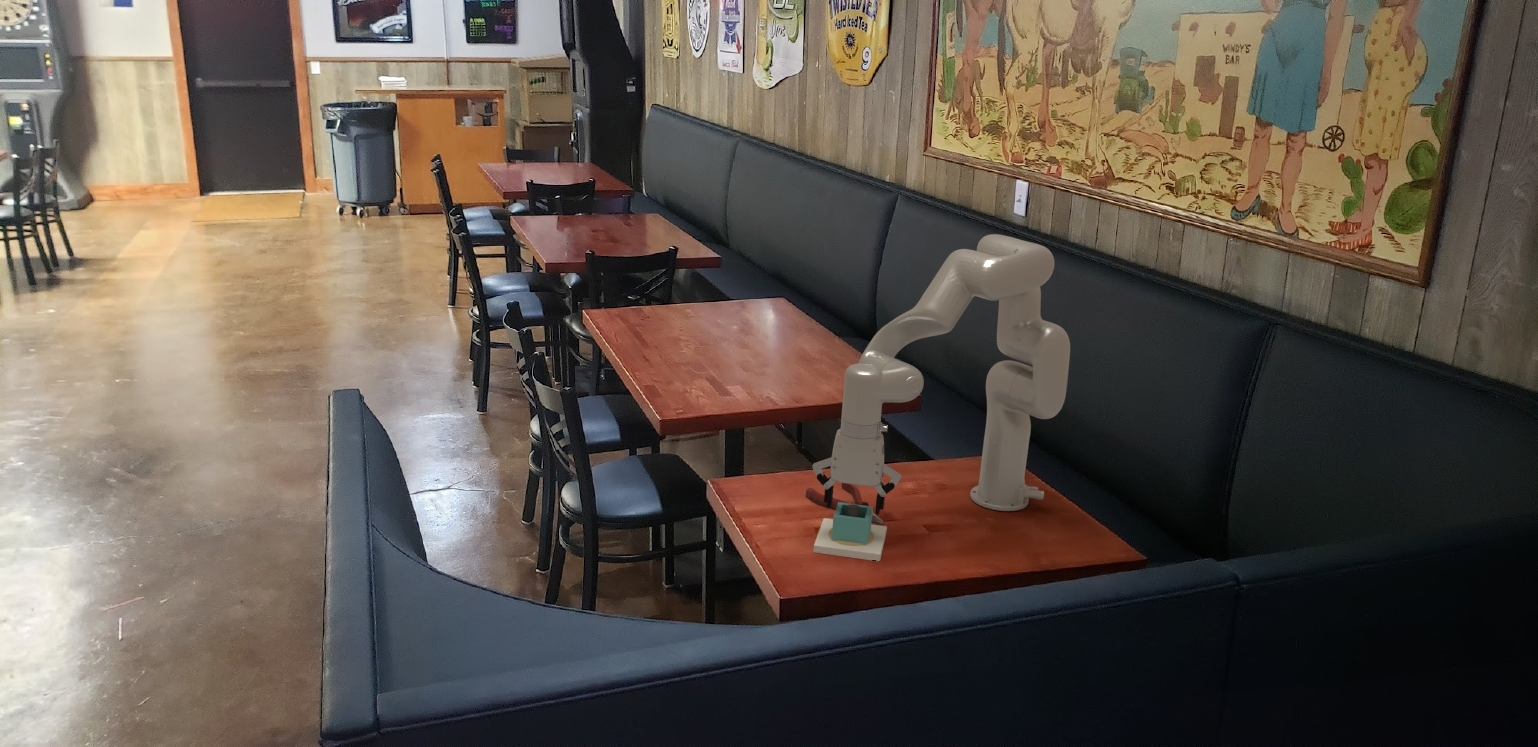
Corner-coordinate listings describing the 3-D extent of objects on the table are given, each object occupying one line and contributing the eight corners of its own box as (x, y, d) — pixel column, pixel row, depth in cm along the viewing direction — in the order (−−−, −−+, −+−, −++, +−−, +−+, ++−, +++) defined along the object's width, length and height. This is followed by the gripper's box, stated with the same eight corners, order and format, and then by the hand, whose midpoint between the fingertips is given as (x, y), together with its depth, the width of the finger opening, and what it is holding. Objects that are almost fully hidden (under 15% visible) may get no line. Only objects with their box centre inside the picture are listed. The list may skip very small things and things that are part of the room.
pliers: (855, 534, 231) (856, 523, 230) (802, 497, 247) (803, 486, 246) (900, 525, 236) (901, 513, 235) (846, 489, 253) (847, 478, 252)
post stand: (886, 533, 231) (889, 498, 229) (879, 561, 219) (883, 525, 216) (823, 524, 233) (825, 490, 231) (813, 552, 221) (815, 516, 219)
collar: (871, 529, 228) (873, 506, 227) (867, 544, 222) (869, 520, 220) (836, 524, 229) (838, 501, 228) (831, 539, 223) (833, 516, 221)
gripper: (906, 426, 221) (898, 507, 226) (818, 416, 223) (813, 495, 229) (903, 439, 214) (895, 522, 219) (812, 429, 216) (807, 510, 222)
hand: (853, 508), depth 224 cm, fingers open, 9 cm apart
